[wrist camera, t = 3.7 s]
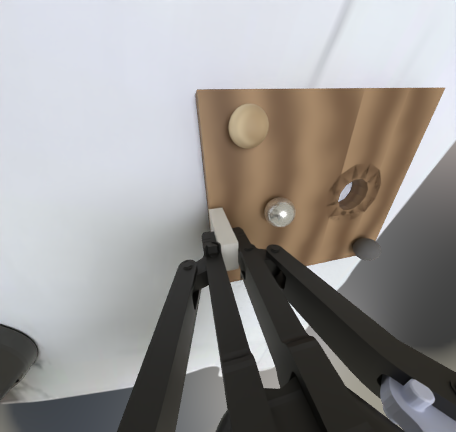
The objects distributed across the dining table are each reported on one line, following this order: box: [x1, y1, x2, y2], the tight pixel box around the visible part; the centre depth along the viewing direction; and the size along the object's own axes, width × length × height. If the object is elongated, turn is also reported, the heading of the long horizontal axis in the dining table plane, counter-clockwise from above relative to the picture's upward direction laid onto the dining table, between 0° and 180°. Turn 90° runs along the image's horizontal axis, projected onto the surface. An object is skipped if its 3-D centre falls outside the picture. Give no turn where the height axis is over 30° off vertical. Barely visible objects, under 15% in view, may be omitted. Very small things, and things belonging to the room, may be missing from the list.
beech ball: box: [228, 104, 269, 149], centre depth 15 cm, size 4×4×4 cm
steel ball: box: [264, 197, 296, 227], centre depth 20 cm, size 4×4×4 cm
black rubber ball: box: [353, 238, 381, 261], centre depth 27 cm, size 4×4×4 cm
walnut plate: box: [195, 88, 445, 282], centre depth 23 cm, size 28×24×2 cm
